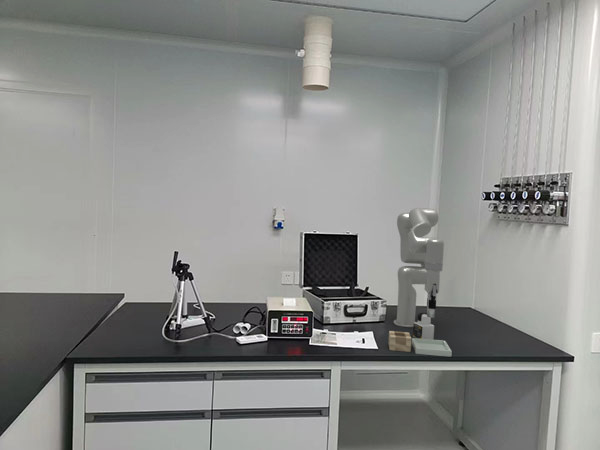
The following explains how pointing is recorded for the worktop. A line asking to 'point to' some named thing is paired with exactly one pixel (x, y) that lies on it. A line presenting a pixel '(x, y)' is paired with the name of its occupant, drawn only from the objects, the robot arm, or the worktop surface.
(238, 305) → the worktop surface
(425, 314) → the medicine bottle
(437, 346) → the tray
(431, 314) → the cylinder
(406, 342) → the beech block
